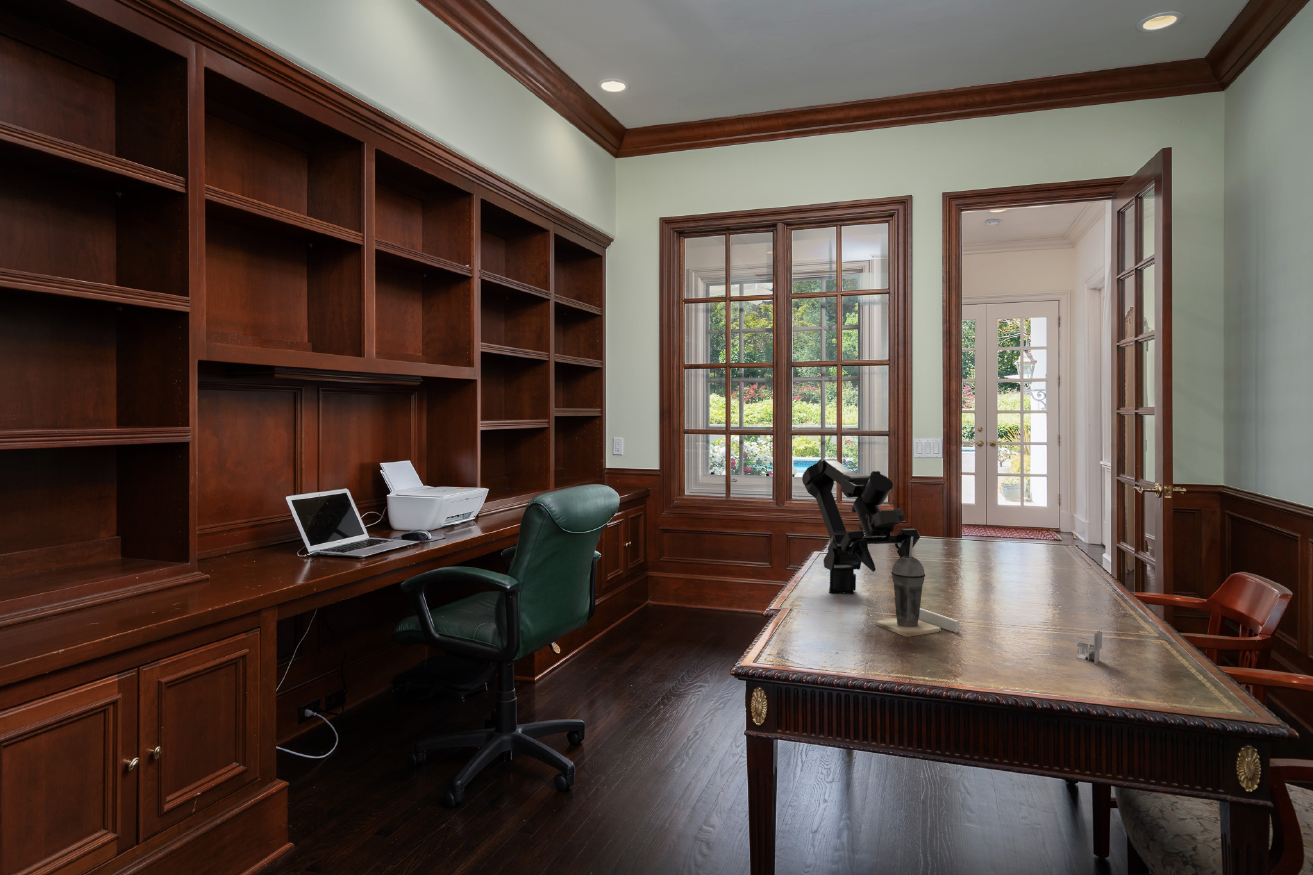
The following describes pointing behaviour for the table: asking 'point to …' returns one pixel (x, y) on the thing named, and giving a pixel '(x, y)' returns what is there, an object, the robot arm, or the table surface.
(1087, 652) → the architectural model
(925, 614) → the divider wall
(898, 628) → the coaster
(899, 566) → the beverage cup
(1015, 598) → the table surface
